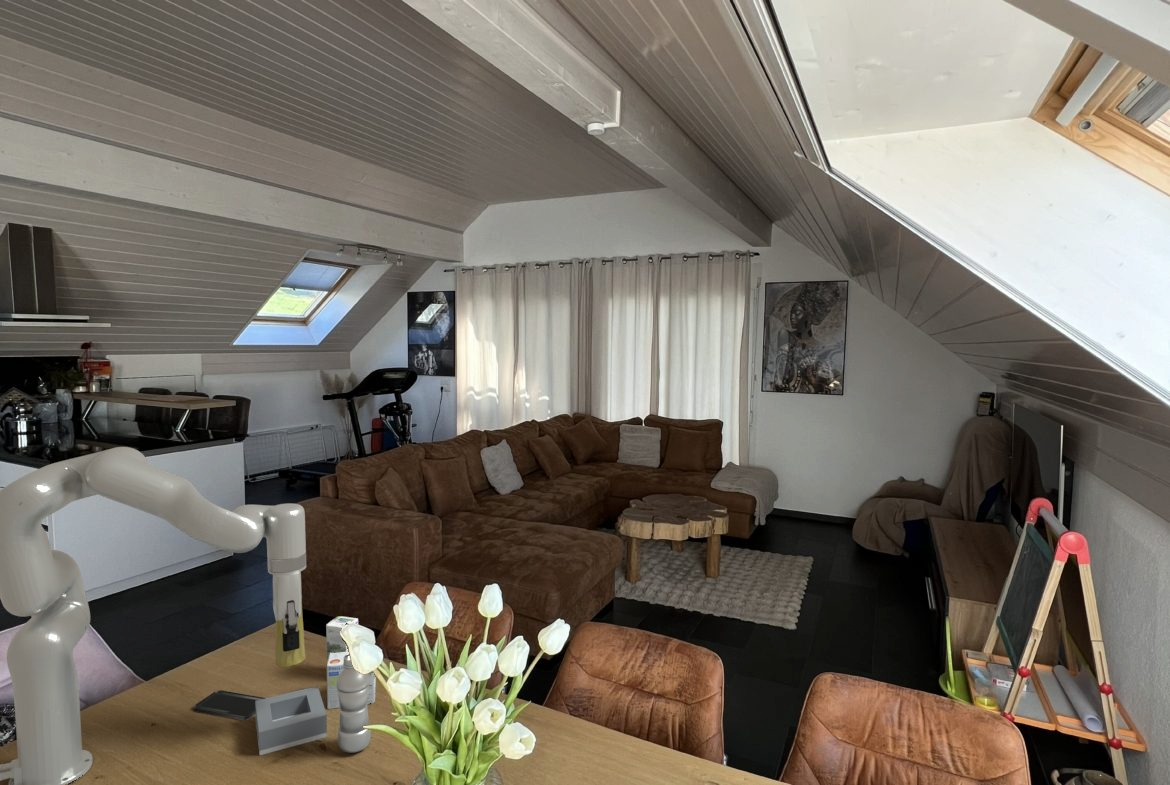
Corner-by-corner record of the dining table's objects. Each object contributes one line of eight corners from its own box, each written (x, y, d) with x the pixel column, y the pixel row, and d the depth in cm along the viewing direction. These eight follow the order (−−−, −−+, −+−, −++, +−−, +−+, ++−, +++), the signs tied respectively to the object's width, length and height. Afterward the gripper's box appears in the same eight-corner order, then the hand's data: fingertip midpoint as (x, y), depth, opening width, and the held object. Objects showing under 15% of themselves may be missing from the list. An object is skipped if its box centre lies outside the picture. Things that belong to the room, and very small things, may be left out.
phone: (217, 689, 156) (271, 698, 152) (217, 694, 156) (271, 703, 152) (190, 707, 148) (246, 717, 145) (190, 712, 148) (246, 722, 145)
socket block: (259, 755, 133) (259, 732, 133) (255, 722, 144) (255, 700, 144) (326, 736, 140) (326, 714, 139) (318, 706, 151) (317, 686, 151)
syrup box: (359, 671, 167) (359, 617, 166) (346, 683, 161) (345, 627, 160) (340, 668, 168) (339, 614, 167) (326, 680, 162) (325, 624, 161)
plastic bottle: (368, 756, 134) (367, 663, 132) (334, 758, 133) (332, 665, 131) (373, 736, 140) (372, 648, 138) (340, 739, 139) (339, 649, 137)
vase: (269, 661, 140) (267, 598, 139) (295, 650, 145) (293, 588, 144) (285, 670, 137) (282, 605, 135) (311, 658, 142) (309, 595, 140)
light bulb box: (376, 688, 159) (375, 646, 158) (375, 704, 153) (374, 660, 152) (329, 694, 156) (329, 651, 155) (326, 710, 150) (325, 665, 149)
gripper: (264, 553, 144) (267, 631, 146) (271, 578, 129) (274, 665, 131) (301, 547, 148) (303, 624, 150) (311, 572, 133) (313, 656, 135)
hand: (289, 642), depth 140 cm, fingers closed on vase, 5 cm apart
